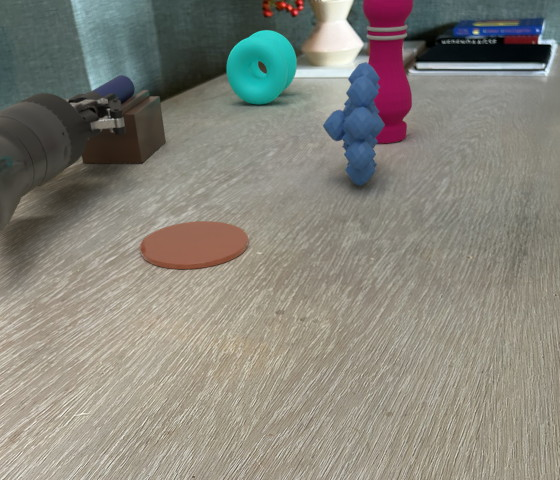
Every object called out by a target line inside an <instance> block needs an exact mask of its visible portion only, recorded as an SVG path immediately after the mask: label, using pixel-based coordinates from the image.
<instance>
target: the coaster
mask: <svg viewBox="0 0 560 480" xmlns="http://www.w3.org/2000/svg"><path fill="white" fill-rule="evenodd" d="M248 237H249V236H248V234H247V232H246V231H245V230H243V229H242V228H240V227H239V226H237V225H234V224H231V223H228V222H227V223H226V222H222V221H211V220H199V221H188V222H180V223H176V224H171V225H167V226H165V227H162V228H160V229H157V230H156V231H152V232H151V233H149V234H148V235H147V236H146V237H144V238H143V240H142V241H141V243H140V244H139V245H140V246H139V251H140V255H141V257H142V258H143V259H144V260H145V261H146V262H148V264H149V263H150V264H152V265H153V266H156V267H159V268H166V269H172V270H173V269H174V270H194V269H195V270H197V269H203V268H210V267H213V266H217V265H221V264H225V263H227V262H229V261H232V260H234V259H236V258H237V257H240V255H242V254H243V253H244V252H245V251H246V250H247V249H248V246H249V238H248Z"/></svg>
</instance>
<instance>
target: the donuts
mask: <svg viewBox="0 0 560 480" xmlns="http://www.w3.org/2000/svg"><path fill="white" fill-rule="evenodd" d="M259 62H261V63H262V64H263V65H264V67H265V69H266V73H265V72H263V71H262V70H261V69H260V66H259ZM297 66H298V59H297V55H296V51H295V49H294V46H293V45H292V44H291V42H290V41H289V39H288V38H286V37H285V36H284V35H283V34H281V33H280V32H277V31H276V30H270V29H269V30H268V29H264V30H259V31H256V32H254V33H253V34H251V35H249V36H248V37H246V38H244V39H242V40H240V41H239V42H237V43H236V44H235V45H234V47H233V48H232V49H231V51H230V53H229V55H228V58H227V61H226V78H227V81H228V83H229V86H230V88H231V90H232V91H233V92H234V94H235V95H236V96H237V97H238V98H240V100H242V101H244V102H246V103H247V104H251V105H257V106H258V105H260V106H261V105H266V104H269V103H271V102H273V101H274V100H276V99H277V98H278V97H279V96H281V94H282V92H283V91H285V90H287V89H288V87H289V86H291V84H292V82H293V80H294V79H295V76H296V73H297Z"/></svg>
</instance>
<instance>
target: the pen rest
mask: <svg viewBox="0 0 560 480" xmlns="http://www.w3.org/2000/svg"><path fill="white" fill-rule="evenodd" d="M121 107H122V112H123V118H124V124H125V130H126V133H125V134H123V135H116V134H115V132H110V128H106V129H102V131H101V132H100V133H99V134H98V135H96V136H93V137H90V138H89V139H88V141H87V144H86V147H85V150H84V152H83V154H82V156H81V160H82V163H83V164H140V165H141V164H142V165H143V163H144V162H146V160H148V159H149V158H150V157H151V156H152V155H153V154H154V153H155V152H157V150H159V149H160V148H161V147H162V146H163V145H164V144H165V143H166V142H167V141H166V135H165V126H164V120H163V118H164V117H163V112H162V104H161V98H160V96H159V95H157V96H155V95H154V96H153V95H152V96H150V91H149V89H143V90H141V91H140V92H138V93H137V94H135V95H133V96H132V97H131V98H130V99H129V100H127V101H126V102H124V103H123V104H121Z"/></svg>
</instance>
